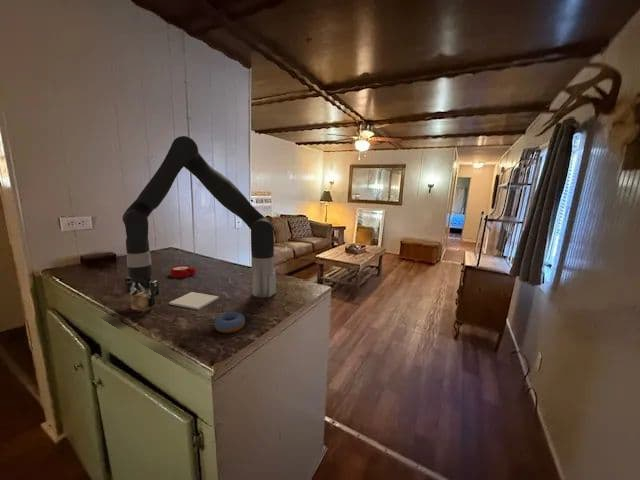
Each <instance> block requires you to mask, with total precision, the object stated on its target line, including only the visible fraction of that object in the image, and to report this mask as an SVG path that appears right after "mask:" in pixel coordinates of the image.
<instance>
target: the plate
mask: <svg viewBox="0 0 640 480" xmlns="http://www.w3.org/2000/svg"><path fill="white" fill-rule="evenodd" d="M219 298H220V297H219V296H218V295H212V294H206V293H201V292H193V291H191V292H189V293H186V294H184V295H182V296H179V297H178V298H176V299H173V300H171V301H169V303H168V304H169V305H172V306H175V307H182V308H187V309H192V310H197V311H198V310H200V309H203V308H204V307H205V306H207V305H210V304H211V303H213V302H215V301H216V300H219Z"/></svg>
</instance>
